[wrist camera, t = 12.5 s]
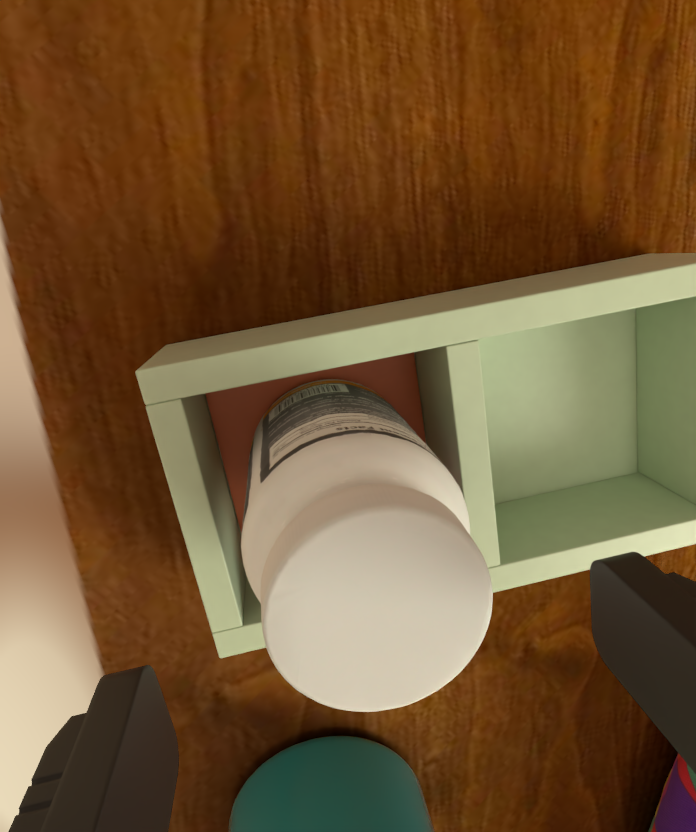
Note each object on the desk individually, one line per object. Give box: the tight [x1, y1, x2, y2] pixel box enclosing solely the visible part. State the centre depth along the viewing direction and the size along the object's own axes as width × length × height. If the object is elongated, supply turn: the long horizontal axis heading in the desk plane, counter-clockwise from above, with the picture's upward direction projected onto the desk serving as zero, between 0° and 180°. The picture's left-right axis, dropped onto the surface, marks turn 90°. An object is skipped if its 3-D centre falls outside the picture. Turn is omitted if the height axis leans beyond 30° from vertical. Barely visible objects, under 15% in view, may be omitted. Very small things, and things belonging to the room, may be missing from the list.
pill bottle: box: [241, 379, 493, 712], centre depth 15 cm, size 6×6×10 cm
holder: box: [135, 253, 696, 658], centre depth 19 cm, size 10×18×5 cm, turn 100°
